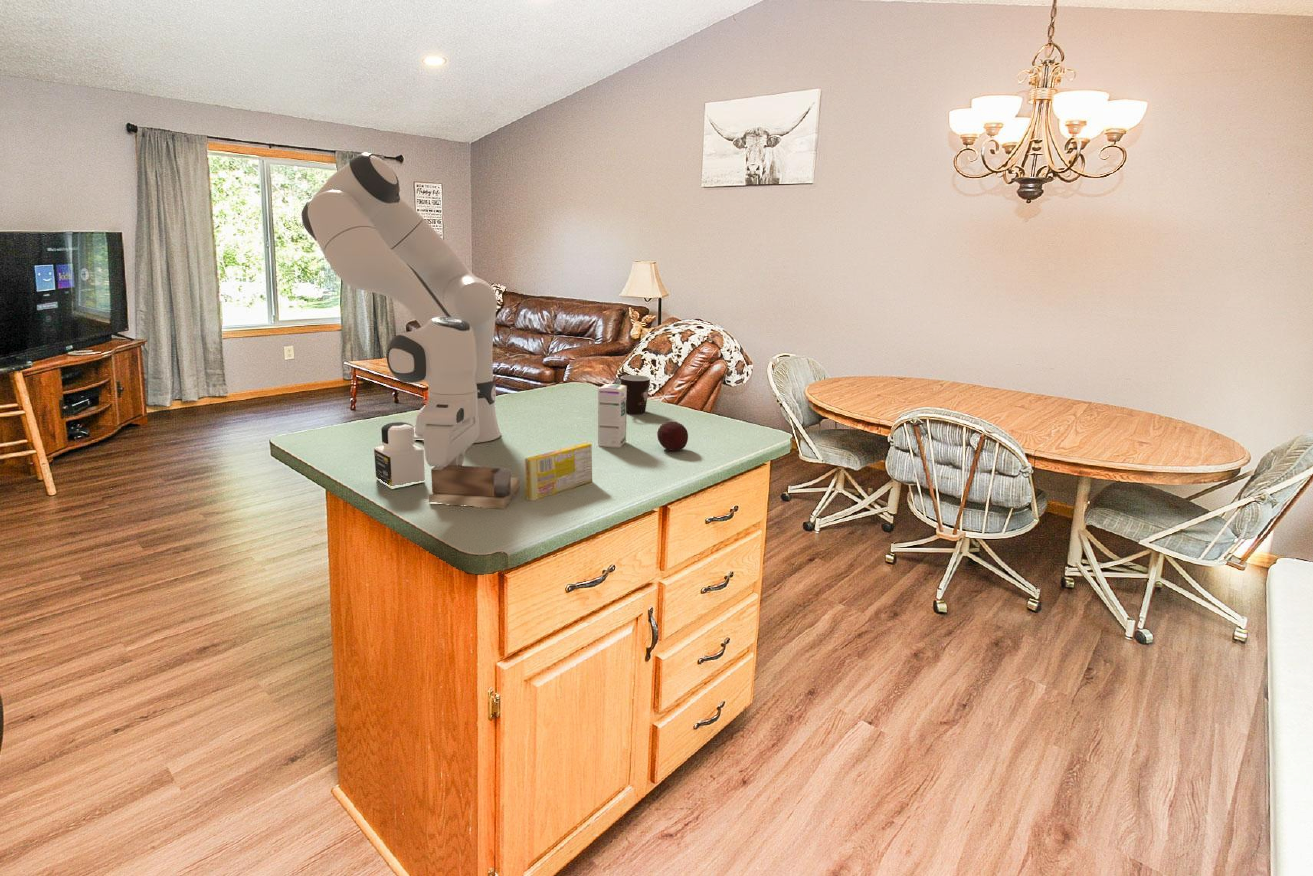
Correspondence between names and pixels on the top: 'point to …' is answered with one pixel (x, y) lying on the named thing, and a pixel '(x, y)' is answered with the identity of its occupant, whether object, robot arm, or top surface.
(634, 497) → the top surface
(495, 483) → the folding leg
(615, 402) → the syrup box
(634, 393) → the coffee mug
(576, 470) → the candy box
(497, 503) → the stool seat
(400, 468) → the medicine bottle
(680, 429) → the dark red plum
